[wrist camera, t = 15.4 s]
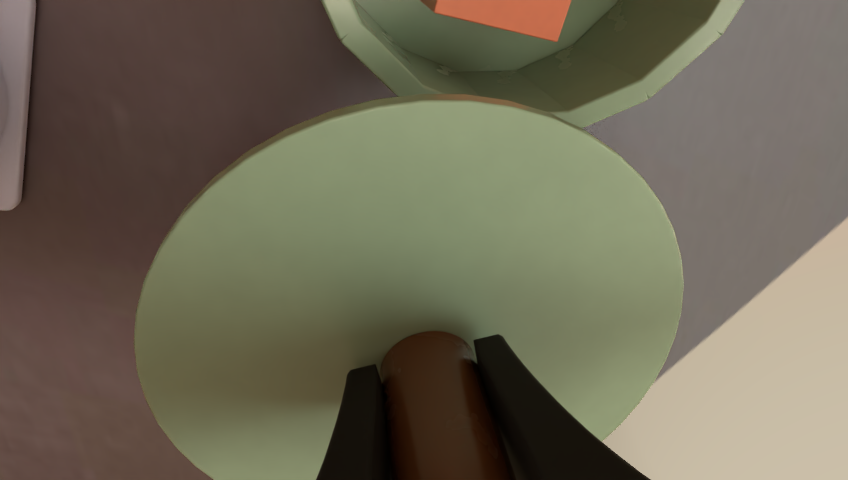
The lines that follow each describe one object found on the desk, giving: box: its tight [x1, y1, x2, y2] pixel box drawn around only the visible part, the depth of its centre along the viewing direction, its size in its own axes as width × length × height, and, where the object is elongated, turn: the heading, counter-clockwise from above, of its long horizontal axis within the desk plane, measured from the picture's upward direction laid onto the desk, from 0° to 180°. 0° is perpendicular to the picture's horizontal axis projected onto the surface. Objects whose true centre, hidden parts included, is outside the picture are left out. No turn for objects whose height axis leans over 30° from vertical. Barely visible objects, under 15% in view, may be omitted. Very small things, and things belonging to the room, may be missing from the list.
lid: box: [134, 94, 684, 480], centre depth 12 cm, size 13×13×5 cm
